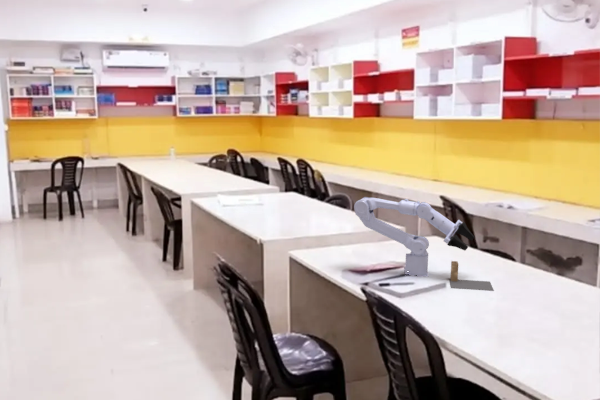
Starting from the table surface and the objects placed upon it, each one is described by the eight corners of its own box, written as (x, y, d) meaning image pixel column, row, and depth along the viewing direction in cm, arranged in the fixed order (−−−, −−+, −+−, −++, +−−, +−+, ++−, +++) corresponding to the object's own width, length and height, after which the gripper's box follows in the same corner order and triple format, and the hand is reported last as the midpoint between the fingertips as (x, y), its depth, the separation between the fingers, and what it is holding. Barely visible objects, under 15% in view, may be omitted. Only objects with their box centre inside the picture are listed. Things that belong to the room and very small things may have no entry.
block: (451, 281, 243) (452, 264, 242) (450, 277, 248) (451, 261, 247) (457, 281, 243) (458, 264, 242) (456, 278, 247) (457, 261, 246)
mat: (450, 289, 233) (450, 288, 233) (448, 279, 246) (448, 278, 246) (494, 291, 231) (494, 290, 231) (489, 282, 243) (489, 281, 243)
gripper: (440, 226, 240) (468, 247, 237) (453, 208, 250) (481, 228, 247) (431, 237, 245) (459, 258, 242) (445, 219, 255) (472, 238, 252)
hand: (470, 243), depth 245 cm, fingers open, 7 cm apart
